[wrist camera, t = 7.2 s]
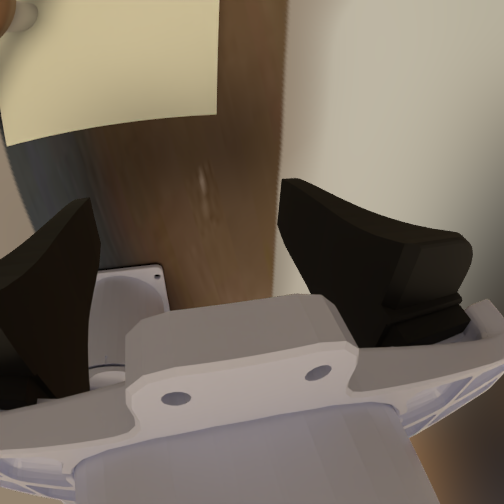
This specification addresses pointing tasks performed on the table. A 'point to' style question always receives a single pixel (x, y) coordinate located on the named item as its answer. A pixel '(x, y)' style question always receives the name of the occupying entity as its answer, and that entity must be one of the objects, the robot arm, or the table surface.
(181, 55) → the cream shape sorter
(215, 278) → the table surface
